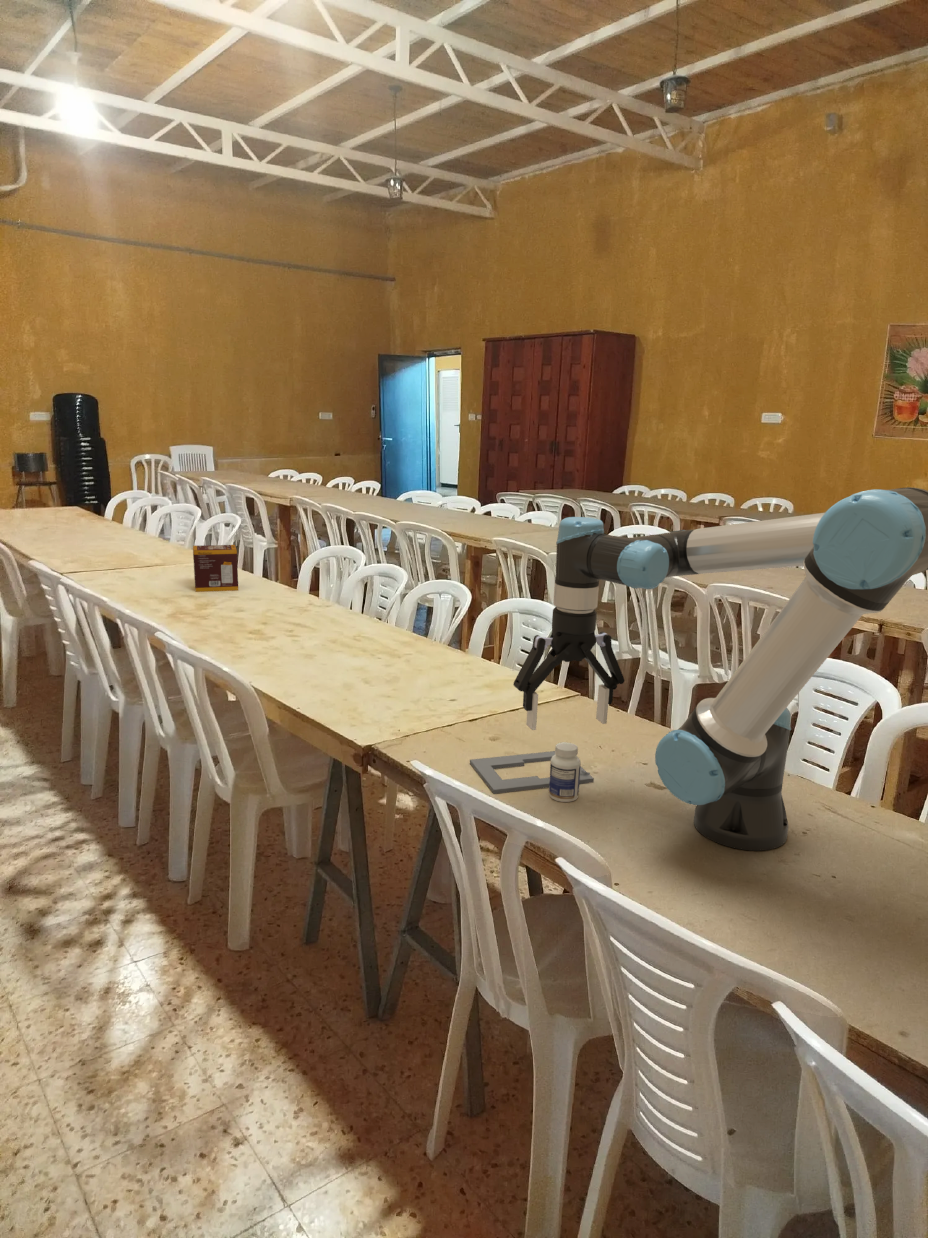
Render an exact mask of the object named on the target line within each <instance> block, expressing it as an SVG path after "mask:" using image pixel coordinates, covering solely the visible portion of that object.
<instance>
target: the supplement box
mask: <svg viewBox="0 0 928 1238" xmlns="http://www.w3.org/2000/svg"><path fill="white" fill-rule="evenodd" d="M192 556H193V573H194V574H193V575H194V586H195V587H194V588H195V593H207V592H208V593H209V592H230V591H231V592H235V591H239V571H238V570H239V568H238V551H237V547H236V544H216V545H215V544H214V545H209V544H208V545H205V544H203V545H192Z"/></svg>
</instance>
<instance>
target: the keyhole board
mask: <svg viewBox="0 0 928 1238" xmlns="http://www.w3.org/2000/svg"><path fill="white" fill-rule="evenodd" d="M554 755H555V750H551V751H542V752H541V751H540V752H532V753H522V754H512V755H503V756H501V755H500V756H493V757H483V758H472V759H469V765H470V766H471V767H472V768H473V769H474V771H475V772H476V773H477V774H478V776H479V777H480V778H481V780H482V781H483V782H484V784H485V785H486V786H487V787H488V789H489V790H490V791H491V792H492V794H493V795H497V794H504V793H515V792H521V791H522V792H523V791H530V790H539V789H549V783H550V776H547V777H542V778H541V777H539V776H538V775H533V776H532V775H530V776H524V777H514V778H507V779H502V778H501V776H500V775H499V773H497V771H496V770H498V769H506V768H507V769H508V768H516V767H517V768H518V767H525V764H529V763H538V762H539V763H540V762H548V761H549V762H551V758H552V756H554ZM495 769H496V770H495ZM594 782H595V778H594V777H593V776H592V775H591V772H588V771H587V770H585V769H584V768H583V767H582V766H580V781H579V785H583V784H590V783H591V784H592V783H594Z"/></svg>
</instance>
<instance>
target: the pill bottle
mask: <svg viewBox="0 0 928 1238" xmlns="http://www.w3.org/2000/svg"><path fill="white" fill-rule="evenodd" d="M578 750H579V747H578V745H577V744H575V743H572V742H567V741H564V742H563V741H562V742H558V743H557V744H556V743H555V747H554V751H555V755H554V756H552V758H551V760H550V766H549V771H550V772H549V777H550V783H549V788H548V796H549V797H550V798H551V799H552V800H554V801H557V802H562V803H569V802H570V803H571V802H574V801H577V799H578V798H579V795H580V794H579V792H580V784H579V781H580V766H581V763H582V762H581V759H580V757H578V752H579V751H578ZM581 767H582V766H581Z"/></svg>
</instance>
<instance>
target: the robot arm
mask: <svg viewBox="0 0 928 1238" xmlns="http://www.w3.org/2000/svg"><path fill="white" fill-rule="evenodd" d="M604 526H605V525H604V522H603V520H601V519H598V518H596V517H585V516H569V517H565V518H563V519H562V520H561V521H560V522H559V525H558V533H557V540H556V544H555V545H556V551H555V553H556V555H555V556H556V559H555V561H556V563H555V576H554V577H555V578H554V590H553V605H554V606H555V607H554V608H553V609H552V618H551V635H550V637H544V636H540V635H539V634H536V635H534V636H533V642H532V646H531V649H530V651H529V653H528V655H527V656H526V659H525V660H524V662H523V664H522V666H521V668H520V670H519V672H518V674H517V675H516V677H515V679H514V682H513V683H512V684H513V687H514V688H516V689H517V690H518V692H522V693H523V696H522V697H523V698H522V707H523V709H524V710H525V711H526V721H525V722H526V723H525V724H526V726H527V727H528V728H529V729H530V730H531V731H536V730H537V721H538V720H537V719H538V707H539V706H538V704H539V693H537V690H538V688H539V687H540V686H541V685H542V684H543V682H544V681H545V680H546V679H547V678H548V677H549V676H550V674H552V673H553V670H554V669H556V667H557V666H559V665H561V663H562V662H565V663H569V662H574V661H576V662H583V660H585V661H586V662H587V663H588V665H589V666H590V667H591V669H592V670H593V672H594V673H595V674H596V675H597V677H598V678H599V679H600V681H601V682H602V683H603V684H598V689H597V701H596V712H595V713H596V714H595V716H596V717H595V719H596V720H597V721H598V722H600V723H601V724H602V725H606V724H607V723H608V722H607V721H608V712H609V711H608V710H609V705H612V703H613V698H614V696H613V695H614V690H616V689H617V688H618V685H623V684H624V683H625V678H624V674H623V673H622V670H621V668H620V665H619V662H618V659H617V658H616V654H615V652H614V650H613V646H612V644H613V643H612V636H611V635H610V634H608V633H606V632H604V631H600V633H599V634H596V633H595V631H596V627H597V614H598V613H597V611H596V609H597V608H598V602H599V592H600V591H599V590H600V589H599V587H600V580H602V581H606V582H610V583H613V584H618V585H623V586H627V587H628V588H629V587H630V588H631V589H644V590H655V589H656V588H658V586H660V584H661V583H663V581H665V579H667V578H672V577H681V576H682V577H683V576H693V575H701V574H713V573H727V572H739V571H753V570H766V569H767V570H768V569H778V568H779V569H780V568H781V569H782V568H792V567H803V569H804V573H805V578H804V579H803V580H802V582H801V583H800V584H799V585H798V587H797V588H796V590H795V591H794V593H793V594H792V595H791V596H790V598H789V599H788V601H787V602H786V603H785V604H784V606H783V607H782V608H781V610H780V611H779V613H778V614H777V615H776V617H775V618H774V619H773V621H772V622H770V625H768V627H767V628H766V630H765V631H764V632H763V634H762V635H761V636H760V638H759V639H758V640H757V642H756V643H755V645H754V646H753V647H752V648H751V650H750V651H749V653H748V654H747V655H746V656H745V658H744V659H743V660H742V662H741V664H739V667H737V668H736V670H735V671H734V673H733V674H732V675H731V677H730V678H729V679H728V681H727V682H726V684H725V685H724V686H723V688H722V689H721V690H720V691H719V693H718V694H717V695H716V697H707V698H704V699H702V700H700V701H699V702H698V703H697V705H696V706H695V707H694V709H693V711H692V712H691V713H690V714H689V716H688V717H687V719H685V721H684V723H682V725H681V726H680V727H679V728H678V729H674V730H671V731H668V733H666V734H665V735H664V736H662V738H661V739H660V740H659V742H658V743H657V745H656V748H655V749H656V750H655V753H654V759H655V760H654V761H655V765H656V767H657V773H658V776H659V778H660V780H661V781H662V784H663V785H664V787H665V788H666V789H667V791H669V792H670V793H671V795H673V796H674V797H676V799H678V800H680V801H681V802H682V803H683V802H684V803H686V804H689V805H693V806H695V810H694V816H693V825H694V827H695V828H696V830H697V831H698V832H699V833H700V834H701V835H702V836H704V837H705V838H707V839H708V840H710V841H712V842H715V843H717V844H719V845H722V846H726V847H729V848H734V849H737V850H744V851H754V852H755V851H757V852H758V851H769V850H774V849H777V848H779V847H781V846H783V845H784V844H785V843H786V842H787V840H788V834H789V820H788V817H787V812H786V807H785V802H784V799H783V794H782V793H783V783H784V777H785V769H786V761H787V756H788V749H789V741H790V733H791V730H792V727H791V718H792V714H791V712H790V709H788V706H789V705H791V703H792V702H793V700H794V699H795V698H797V695H799V693H800V692H801V691H802V690H803V688H804V687H805V685H806V684H807V683H808V682H809V681H810V680H811V678H812V677H813V676H814V675H815V673H816V672H818V671H819V669H820V667H822V665H823V664H824V662H825V661H826V660H827V659H828V657H830V655H831V654H832V653H833V652H834V650H835V649H836V647H838V645H839V644H840V643H841V641H843V639H844V638H845V637H846V636H847V634H848V633H849V632H850V631H851V630H852V629H853V627H854V626H855V625H856V624H857V622H858V621H859V620H860V619H861V618H862V616H863V615H866V614H867V615H868V614H877V613H881V612H883V610H884V609H885V608H886V607H887V605H888V604H889V603H890V602H891V601H892V600H893V599H894V597H895V596H896V595H897V594H898V593H899V591H900V590H901V589H902V588H903V586H904V585H905V584H906V583H907V581H908V580H909V579H911V577H913V576H914V575H918V574H921V573H923V572H926V571H928V490H927V489H923V488H919V487H908V486H907V487H898V488H891V489H881V488H880V489H868V490H864V491H859V492H856V493H852V494H851V495H850V496H847V497H845V498H843V499H841V500H839V501H837V502H836V503H834V504H833V505H832V506H831V507H829V508H828V509H827V510H826V511H825V512H820V513H819V512H818V513H812V514H805V515H803V514H802V515H797V516H789V517H781V518H773V519H765V520H758V521H757V520H756V521H749V522H741V523H735V524H734V523H733V524H726V525H718V526H717V525H716V526H711V527H710V526H709V527H703V528H697V529H695V528H694V529H686V530H685V529H681V530H674V531H669V532H663V533H658V534H651V535H650V534H649V535H642V536H641V535H640V536H635V537H625V536H618V535H610V534H607V533H605V530H604ZM595 645H598V646H599V648H600V650H601V654H602V656H603V658H604V661H605V663H606V666H607V669H608V670H609V671H608V672H609V673H610V674H609V673H608V672H607V670H606V669H605V668H604V667H603V665H602V664H601V663H600V662H599V660H598V658H597V656H596V655H595V654H594V653H593V652H592V649H593V648H594V646H595ZM549 646H550V647H551V649H550V650H549V651H548V653H547V654H546V657H545V658H544V659H543V661H542V662H541V663H540V661H541V660H542V657H543V655H544V652H545V651H546V650H548V647H549ZM539 663H540V665H539ZM538 665H539V666H538Z"/></svg>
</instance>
